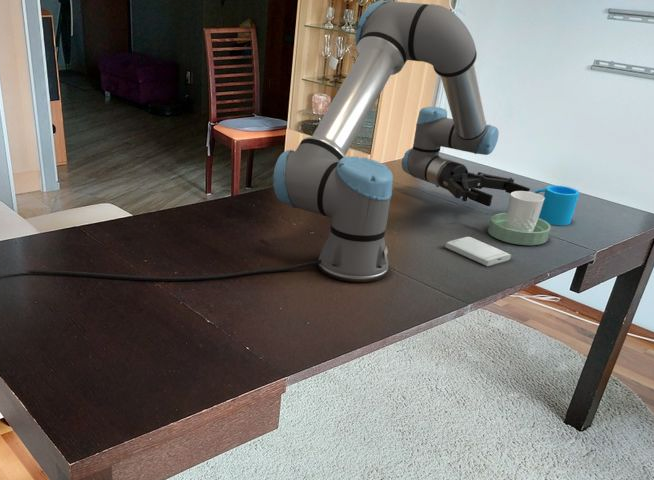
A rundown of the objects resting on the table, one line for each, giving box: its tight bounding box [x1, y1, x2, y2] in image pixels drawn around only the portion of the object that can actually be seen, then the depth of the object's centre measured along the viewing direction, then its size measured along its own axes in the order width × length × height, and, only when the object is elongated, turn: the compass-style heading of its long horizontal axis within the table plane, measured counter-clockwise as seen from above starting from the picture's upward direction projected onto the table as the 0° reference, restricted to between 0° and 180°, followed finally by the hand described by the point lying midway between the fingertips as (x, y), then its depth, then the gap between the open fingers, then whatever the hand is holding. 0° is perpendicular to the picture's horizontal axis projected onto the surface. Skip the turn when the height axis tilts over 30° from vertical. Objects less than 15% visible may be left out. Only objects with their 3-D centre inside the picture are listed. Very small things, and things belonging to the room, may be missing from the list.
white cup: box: [504, 191, 545, 232], centre depth 168 cm, size 8×8×10 cm
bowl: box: [487, 212, 552, 246], centre depth 170 cm, size 14×14×4 cm
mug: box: [532, 184, 581, 226], centre depth 181 cm, size 12×8×8 cm
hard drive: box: [445, 236, 512, 267], centre depth 159 cm, size 2×8×12 cm
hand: (509, 197), depth 170 cm, fingers open, 13 cm apart
